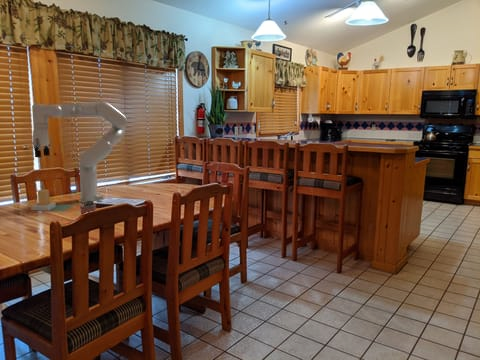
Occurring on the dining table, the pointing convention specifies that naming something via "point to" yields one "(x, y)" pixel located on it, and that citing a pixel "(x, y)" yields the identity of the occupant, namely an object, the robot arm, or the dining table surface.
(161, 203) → the dining table surface
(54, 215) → the dining table surface
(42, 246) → the dining table surface
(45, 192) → the plug
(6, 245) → the dining table surface
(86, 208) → the lighter
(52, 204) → the board
